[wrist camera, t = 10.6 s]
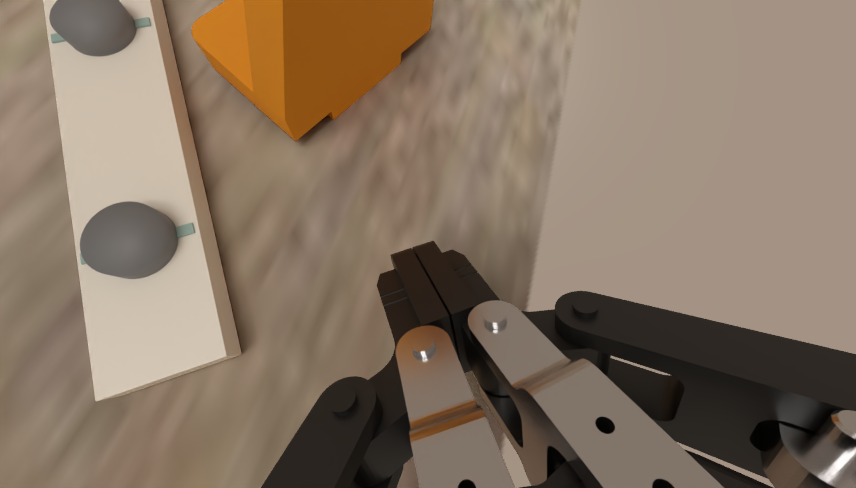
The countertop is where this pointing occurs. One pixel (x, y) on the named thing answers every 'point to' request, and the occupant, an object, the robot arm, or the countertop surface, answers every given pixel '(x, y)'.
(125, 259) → the board
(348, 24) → the bracket
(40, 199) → the countertop surface
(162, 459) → the countertop surface
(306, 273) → the countertop surface
